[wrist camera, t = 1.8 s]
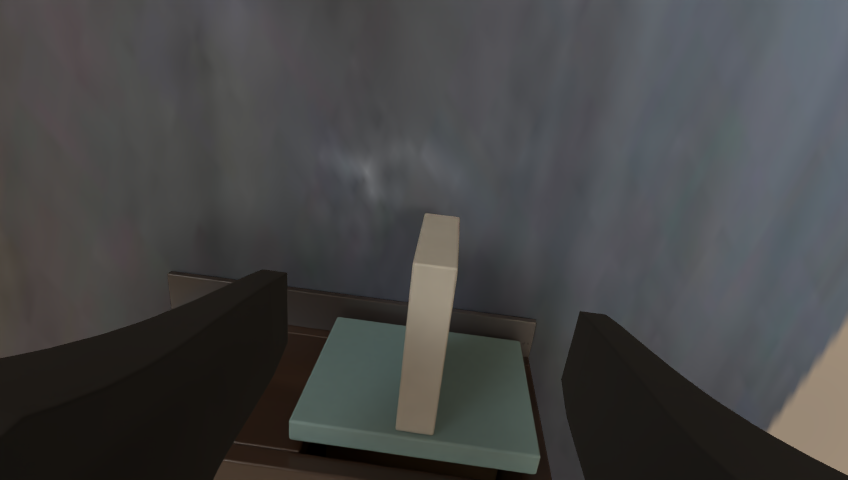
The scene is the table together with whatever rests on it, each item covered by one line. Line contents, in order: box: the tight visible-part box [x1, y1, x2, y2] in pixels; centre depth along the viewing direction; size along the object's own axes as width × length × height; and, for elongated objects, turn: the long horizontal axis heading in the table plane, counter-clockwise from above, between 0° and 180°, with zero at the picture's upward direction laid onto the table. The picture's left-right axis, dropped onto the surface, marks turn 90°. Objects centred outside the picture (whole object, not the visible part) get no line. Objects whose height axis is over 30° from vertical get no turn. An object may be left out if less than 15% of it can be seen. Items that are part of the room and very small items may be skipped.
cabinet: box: [167, 271, 552, 480], centre depth 19 cm, size 11×16×8 cm
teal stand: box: [289, 213, 540, 474], centre depth 16 cm, size 7×8×6 cm
